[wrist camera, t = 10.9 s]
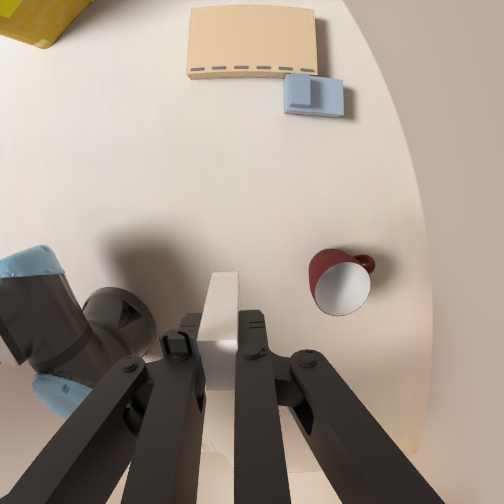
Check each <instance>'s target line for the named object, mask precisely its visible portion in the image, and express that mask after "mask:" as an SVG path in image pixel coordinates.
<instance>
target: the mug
mask: <svg viewBox="0 0 504 504" xmlns="http://www.w3.org/2000/svg"><path fill="white" fill-rule="evenodd" d="M361 263H363V264H367V265H365V266H363V265H362V264H361ZM374 268H375V262H374V260H373V258H372V257H370V256H368V255H357V256H354V257H352V256H350V255H348V254H346V253H344V252H342V251H340V250H337V249H325V250H322V251H320V252H318V253H317V254H316V255H315V256H314V257H313V259H312V260H311V262H310V265H309V283H310V290H311V293H312V296H313V298H314V300H315V302H316V304H317V306H318V307H319V309H320V310H321V311H323V312H324V313H326V314H328V315H332V316H344V315H347V314H350V313H352V312H354V311H356V310H357V309H358V308H360V307H361V306H362V305H363V303H364V302H365V301H366V299H367V298H368V295H369V293H370V289H371V279H370V275H369V274H370V273H372V272H373V271H374Z"/></svg>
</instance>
